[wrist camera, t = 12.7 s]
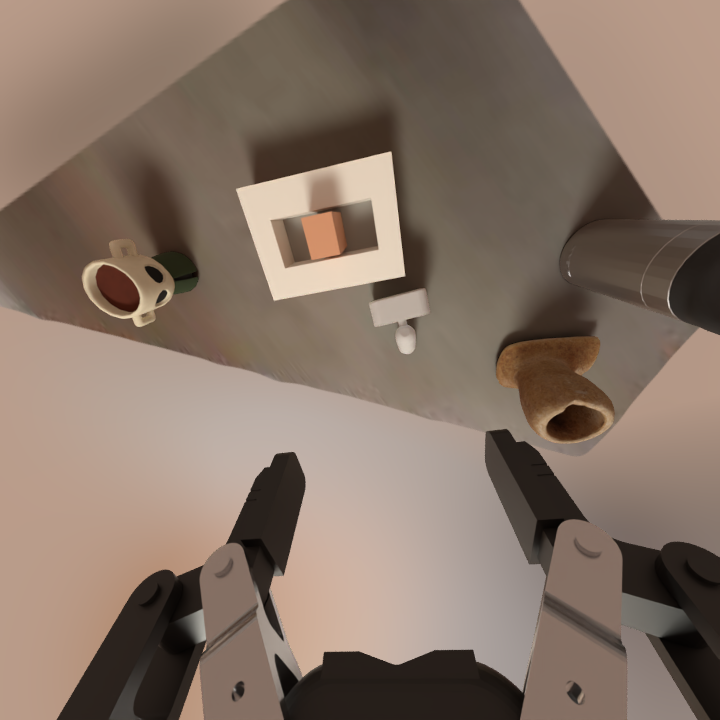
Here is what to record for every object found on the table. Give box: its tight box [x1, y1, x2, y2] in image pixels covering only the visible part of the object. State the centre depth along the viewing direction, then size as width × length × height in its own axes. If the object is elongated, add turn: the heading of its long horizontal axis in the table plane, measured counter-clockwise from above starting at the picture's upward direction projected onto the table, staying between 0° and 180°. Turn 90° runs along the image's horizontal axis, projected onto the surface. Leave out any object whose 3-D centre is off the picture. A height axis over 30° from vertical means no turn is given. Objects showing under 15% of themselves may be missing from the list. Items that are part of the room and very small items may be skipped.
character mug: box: [82, 239, 198, 327], centre depth 38 cm, size 11×7×13 cm, turn 175°
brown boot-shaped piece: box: [496, 336, 615, 443], centre depth 43 cm, size 15×12×15 cm
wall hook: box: [369, 288, 431, 354], centre depth 43 cm, size 8×10×10 cm
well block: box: [236, 152, 405, 300], centre depth 38 cm, size 19×14×6 cm
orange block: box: [301, 211, 347, 260], centre depth 35 cm, size 4×4×10 cm
